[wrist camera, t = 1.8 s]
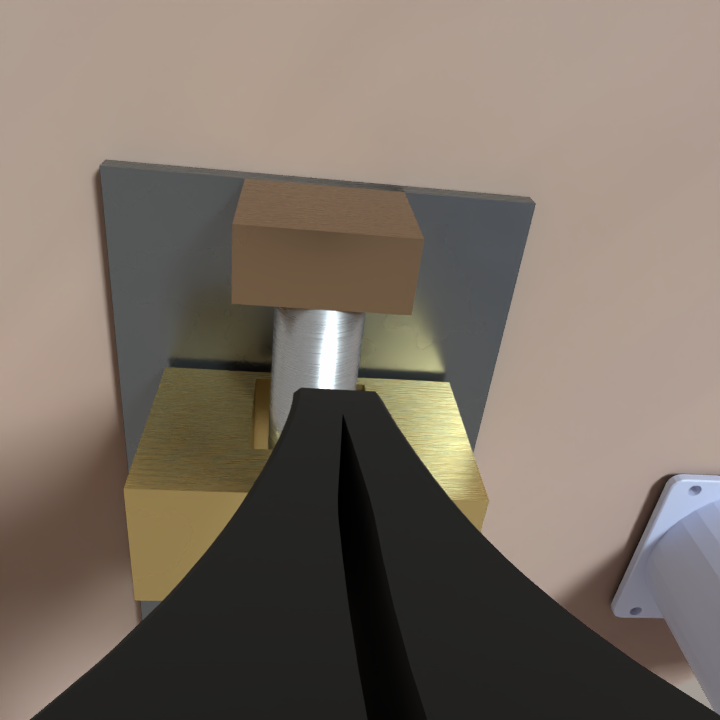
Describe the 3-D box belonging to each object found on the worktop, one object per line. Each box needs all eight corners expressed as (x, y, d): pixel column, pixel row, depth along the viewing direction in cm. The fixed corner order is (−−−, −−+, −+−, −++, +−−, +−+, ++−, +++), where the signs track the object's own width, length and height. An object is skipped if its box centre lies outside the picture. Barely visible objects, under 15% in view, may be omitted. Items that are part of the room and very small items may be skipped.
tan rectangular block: (449, 382, 21) (489, 500, 17) (429, 476, 23) (459, 605, 19) (165, 366, 20) (123, 489, 16) (170, 466, 22) (134, 600, 18)
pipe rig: (529, 196, 19) (582, 253, 16) (416, 660, 31) (431, 758, 27) (105, 159, 18) (52, 212, 14) (150, 660, 29) (127, 762, 25)
